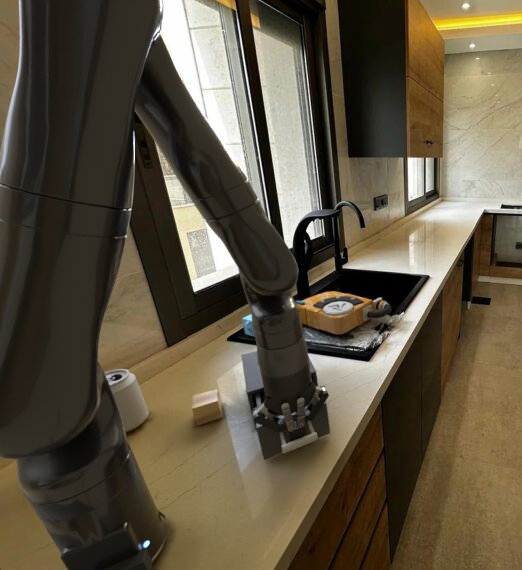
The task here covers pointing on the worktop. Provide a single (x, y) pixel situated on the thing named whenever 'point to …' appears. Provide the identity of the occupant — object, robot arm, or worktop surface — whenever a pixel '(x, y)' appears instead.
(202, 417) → the block
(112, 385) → the can
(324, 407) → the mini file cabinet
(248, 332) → the teapot
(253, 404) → the gray drawer box
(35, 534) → the worktop surface
